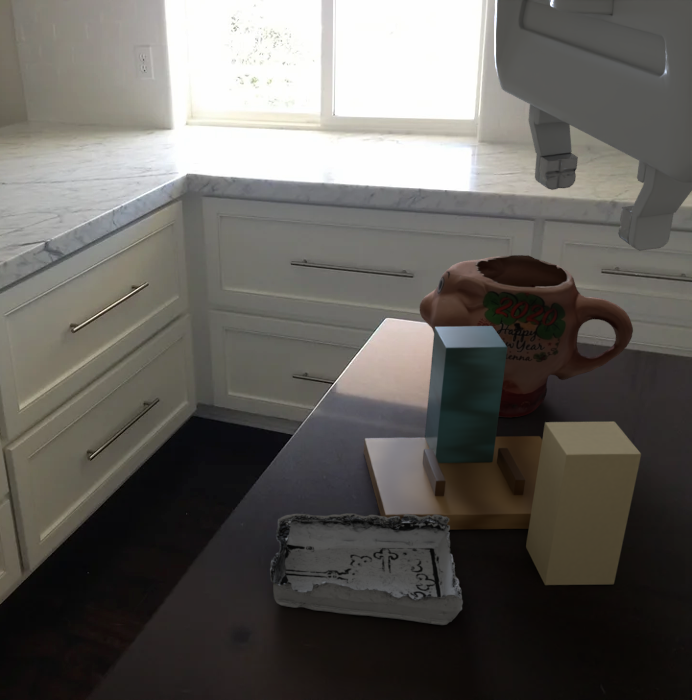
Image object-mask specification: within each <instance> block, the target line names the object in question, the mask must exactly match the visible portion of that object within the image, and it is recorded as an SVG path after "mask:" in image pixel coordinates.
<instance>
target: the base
mask: <svg viewBox="0 0 692 700" xmlns="http://www.w3.org/2000/svg"><path fill="white" fill-rule="evenodd" d="M432 340H433V341H432V352H431V364H430V374H429V387H428V397H427V409H426V419H425V430H424V437H365V438H364V439H363V441H364V442H363V455H364V459H365V462H366V466H367V470H368V474H369V477H370V481H371V485H372V488H373V493H374V496H375V499H376V504H377V508H378V511H379V516H384V517H387V518H389V517H393V516H399V517H400V520H401V519H402V518H403V516H404V515H405V514H409V515H416V516H418V517H425V516H428V515H430V516H431V517H432V516H433V515H441V516H443V517H448V518H449V522H448V523H447V525H449V526H450V530H451V531H452V530H453V531H454V530H458V531H459V530H461V531H462V530H529V523H530V517H531V510H532V504H533V498H534V491H535V485H536V478H537V472H538V465H539V459H540V452H541V446H542V439H543V438H541V436H540V435H519V436H517V435H515V436H513V435H511V436H497V431H498V423H499V417H500V416H499V409H500V401H501V393H502V385H503V378H504V370H505V362H506V354H507V346H506V345H505V343H504V342H503V340H502V339H501V338H500V336H499V335H498V333H497V332H496V330H495V329H494V328H493V326H459V327H435V329H434V332H433V339H432ZM450 530H449V531H450Z"/></svg>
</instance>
